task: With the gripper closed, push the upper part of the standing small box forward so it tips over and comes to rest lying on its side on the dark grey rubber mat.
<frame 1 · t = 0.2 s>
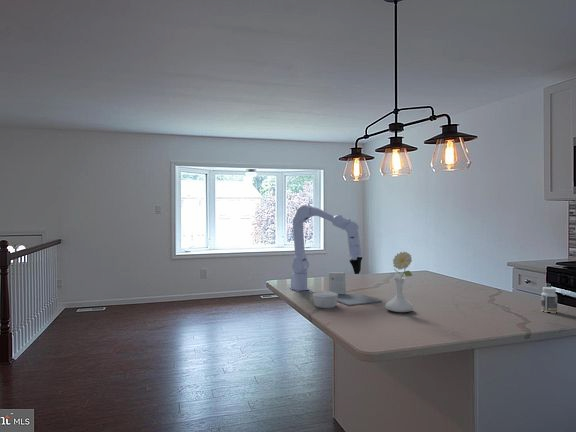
hand: (357, 272, 201), 10 cm above the table, tool pointing down, fingers open, 7 cm apart
pill bottle: (548, 312, 167), on the table
ramekin: (325, 306, 176), on the table
small box: (337, 294, 199), on the table, touching grey mat
flower in vase: (400, 311, 167), on the table
grey mat: (353, 299, 188), on the table
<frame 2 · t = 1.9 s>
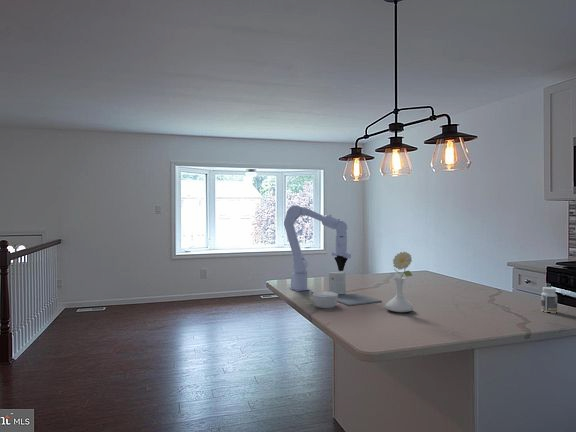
hand: (340, 270, 208), 10 cm above the table, tool pointing down, fingers closed
nothing on the table moved.
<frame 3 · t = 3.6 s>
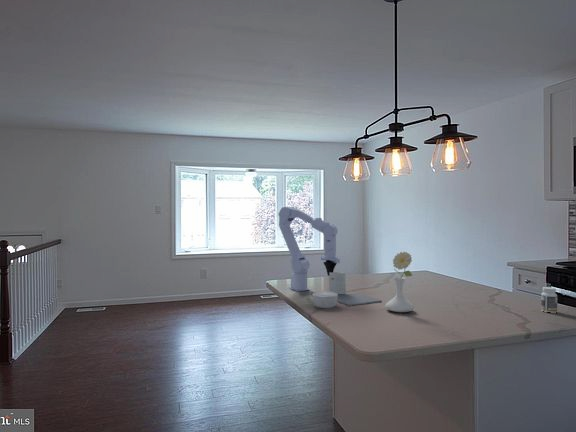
hand: (330, 275, 204), 8 cm above the table, tool pointing down, fingers closed, pressing on small box
small box: (337, 294, 199), on the table, touching grey mat, gripper
everything else where it was.
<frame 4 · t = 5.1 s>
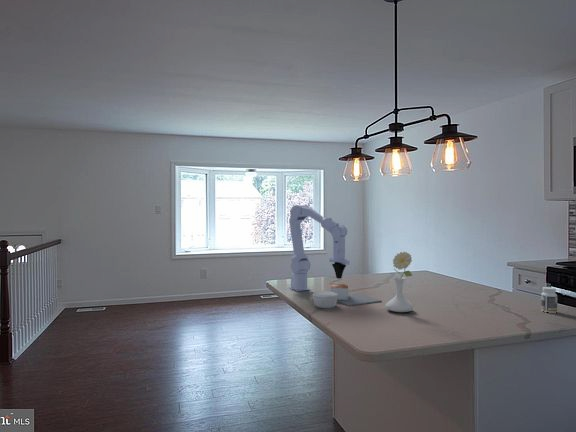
hand: (339, 278, 197), 8 cm above the table, tool pointing down, fingers closed
small box: (339, 289, 195), point 3 cm above the table, touching grey mat
everything else where it was.
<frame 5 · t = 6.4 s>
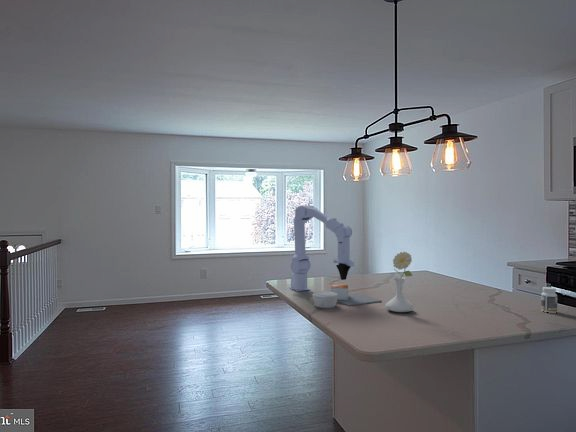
hand: (343, 279, 194), 8 cm above the table, tool pointing down, fingers closed
nothing on the table moved.
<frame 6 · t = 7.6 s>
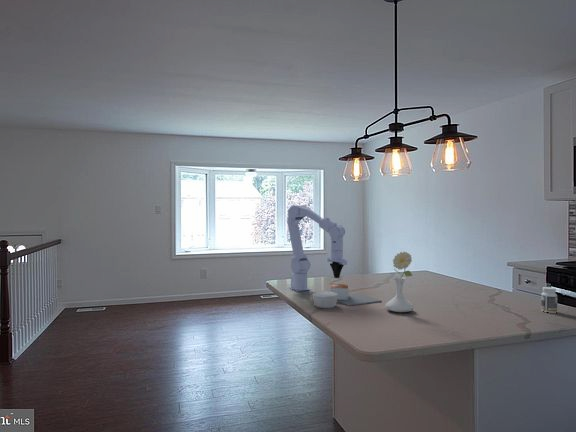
hand: (336, 277, 199), 8 cm above the table, tool pointing down, fingers closed
nothing on the table moved.
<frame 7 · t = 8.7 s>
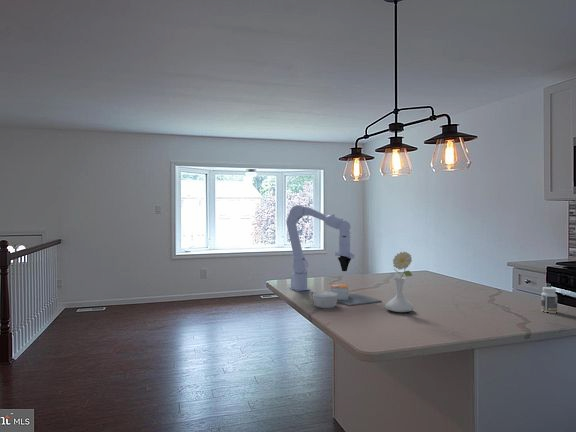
hand: (344, 271, 207), 10 cm above the table, tool pointing down, fingers closed
nothing on the table moved.
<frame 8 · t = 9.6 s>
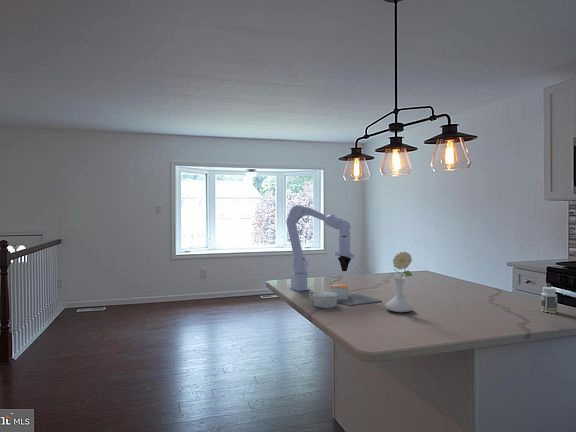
hand: (344, 271, 207), 10 cm above the table, tool pointing down, fingers closed
nothing on the table moved.
at the end: small box tilted 90°; small box touching grey mat; the gripper is holding nothing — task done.
